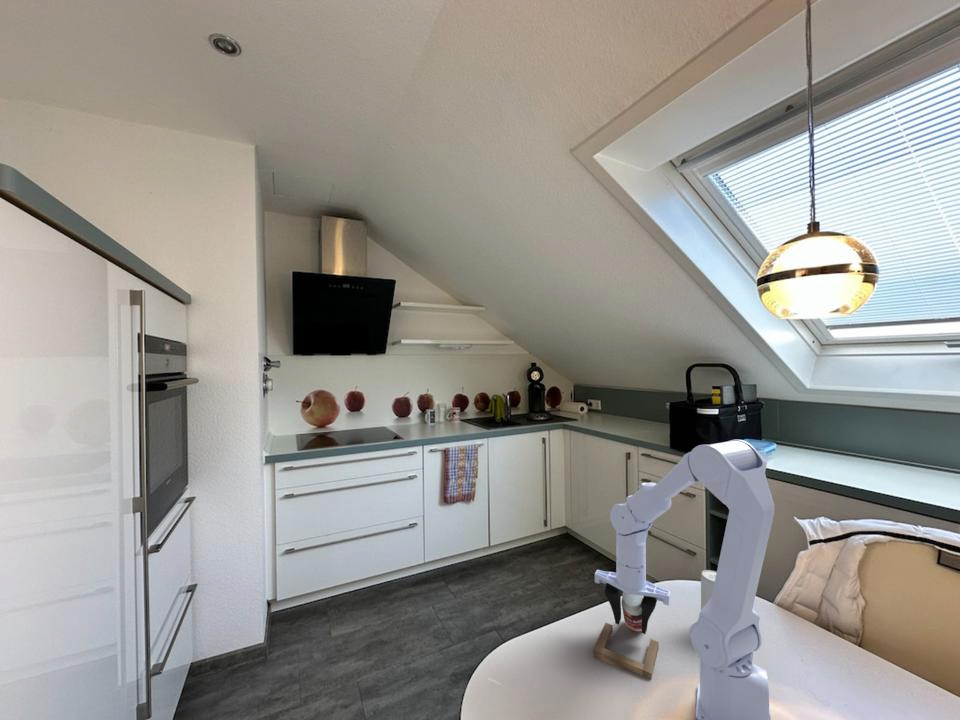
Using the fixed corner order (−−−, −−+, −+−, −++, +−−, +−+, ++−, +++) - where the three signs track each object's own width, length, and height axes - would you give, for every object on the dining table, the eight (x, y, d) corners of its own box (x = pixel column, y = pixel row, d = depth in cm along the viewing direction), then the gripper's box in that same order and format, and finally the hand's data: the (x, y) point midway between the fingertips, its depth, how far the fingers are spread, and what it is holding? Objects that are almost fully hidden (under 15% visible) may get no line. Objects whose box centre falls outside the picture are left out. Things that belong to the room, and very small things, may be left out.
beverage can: (731, 641, 79) (731, 583, 79) (705, 638, 80) (705, 581, 80) (721, 625, 84) (721, 570, 83) (697, 622, 85) (697, 568, 84)
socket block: (658, 649, 77) (658, 641, 77) (651, 681, 69) (651, 673, 69) (605, 629, 82) (605, 622, 82) (593, 657, 75) (593, 649, 75)
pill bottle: (622, 627, 83) (618, 604, 80) (626, 606, 87) (622, 582, 83) (646, 635, 81) (642, 611, 77) (648, 613, 84) (645, 589, 81)
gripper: (672, 562, 79) (672, 627, 79) (600, 543, 87) (601, 603, 87) (667, 579, 73) (667, 649, 73) (591, 557, 81) (591, 621, 81)
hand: (631, 626), depth 79 cm, fingers closed on pill bottle, 4 cm apart
